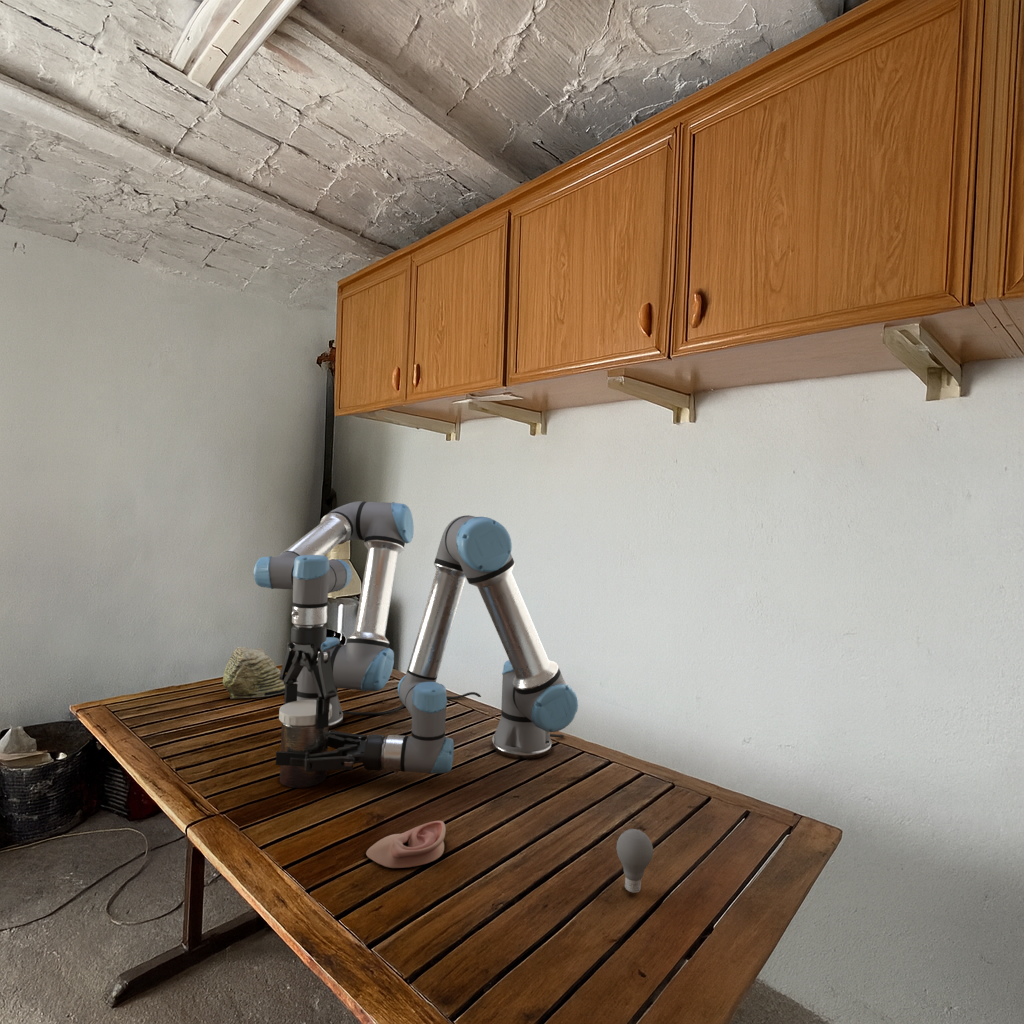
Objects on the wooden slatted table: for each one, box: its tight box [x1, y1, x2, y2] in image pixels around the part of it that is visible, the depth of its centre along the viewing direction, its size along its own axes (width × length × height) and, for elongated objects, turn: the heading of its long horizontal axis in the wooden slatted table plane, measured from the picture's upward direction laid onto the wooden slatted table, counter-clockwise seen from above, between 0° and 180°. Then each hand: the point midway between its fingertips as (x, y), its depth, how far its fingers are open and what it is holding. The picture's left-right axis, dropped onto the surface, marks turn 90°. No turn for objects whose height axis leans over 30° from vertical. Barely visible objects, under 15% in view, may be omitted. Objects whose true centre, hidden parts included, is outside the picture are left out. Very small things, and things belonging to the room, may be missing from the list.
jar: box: [279, 720, 329, 789], centre depth 142 cm, size 10×10×15 cm
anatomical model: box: [365, 820, 447, 869], centre depth 114 cm, size 13×4×12 cm
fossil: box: [222, 646, 285, 699], centre depth 198 cm, size 9×18×15 cm, turn 132°
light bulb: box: [615, 828, 654, 894], centre depth 106 cm, size 6×6×10 cm
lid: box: [278, 700, 332, 726], centre depth 142 cm, size 11×11×2 cm
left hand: (305, 720), depth 142 cm, fingers open, 12 cm apart
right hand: (285, 748), depth 142 cm, fingers closed on jar, 10 cm apart
